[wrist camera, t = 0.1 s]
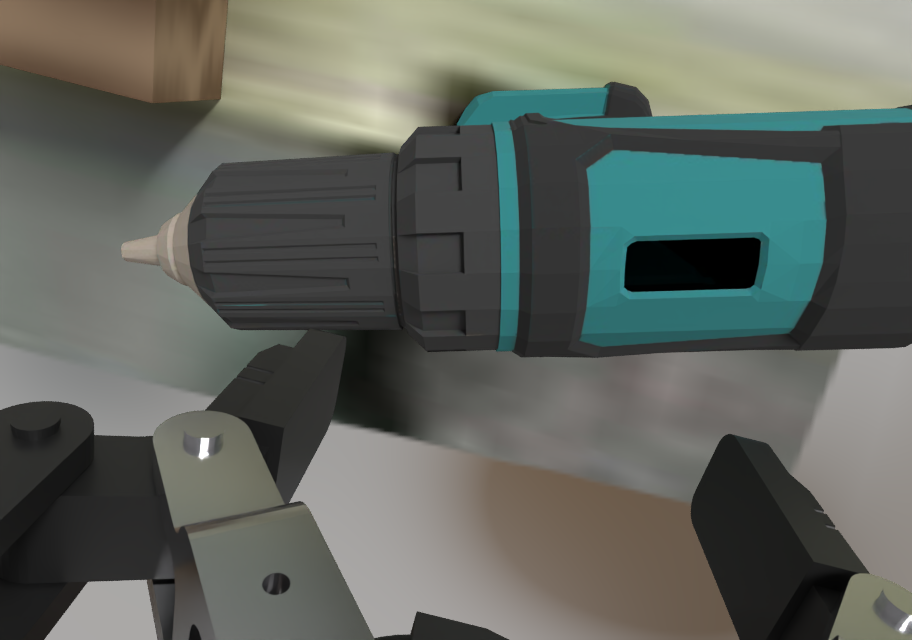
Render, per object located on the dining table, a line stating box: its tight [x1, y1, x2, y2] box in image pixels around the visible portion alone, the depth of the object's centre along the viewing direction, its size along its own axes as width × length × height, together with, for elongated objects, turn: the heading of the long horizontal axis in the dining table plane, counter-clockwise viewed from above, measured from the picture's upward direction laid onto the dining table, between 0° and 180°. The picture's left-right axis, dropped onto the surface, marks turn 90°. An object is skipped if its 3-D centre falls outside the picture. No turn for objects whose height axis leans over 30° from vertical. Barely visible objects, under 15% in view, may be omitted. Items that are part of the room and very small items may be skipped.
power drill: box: [121, 82, 912, 358], centre depth 27 cm, size 26×9×25 cm, turn 92°
